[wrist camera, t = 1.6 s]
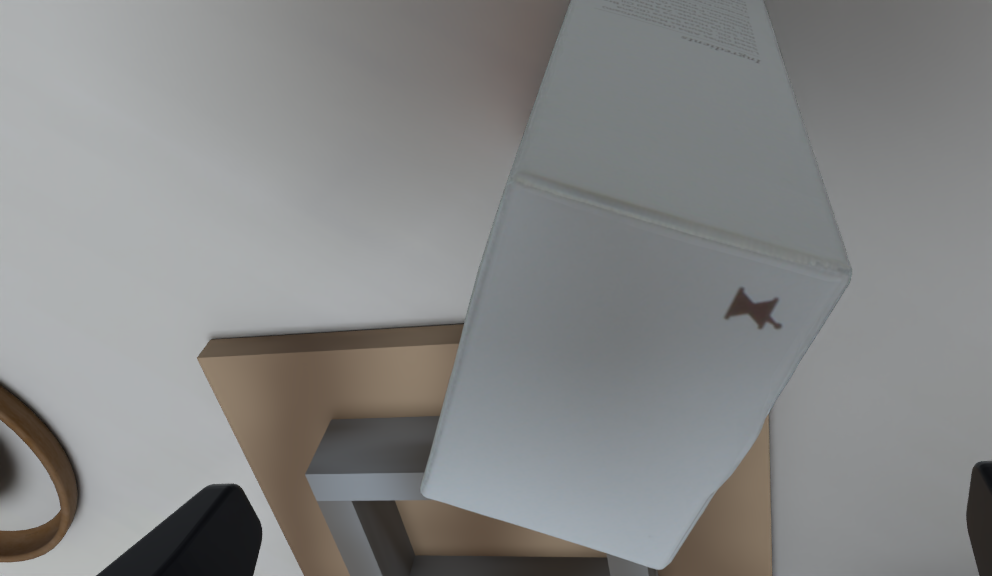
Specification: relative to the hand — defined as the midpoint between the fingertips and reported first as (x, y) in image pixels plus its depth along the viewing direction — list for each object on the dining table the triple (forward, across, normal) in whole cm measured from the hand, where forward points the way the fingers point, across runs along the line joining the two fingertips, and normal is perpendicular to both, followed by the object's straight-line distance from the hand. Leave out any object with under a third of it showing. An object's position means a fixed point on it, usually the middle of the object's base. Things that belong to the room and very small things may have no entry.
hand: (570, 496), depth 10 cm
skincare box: (+13, 0, 0) cm, 13 cm away
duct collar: (+13, +6, +14) cm, 20 cm away
